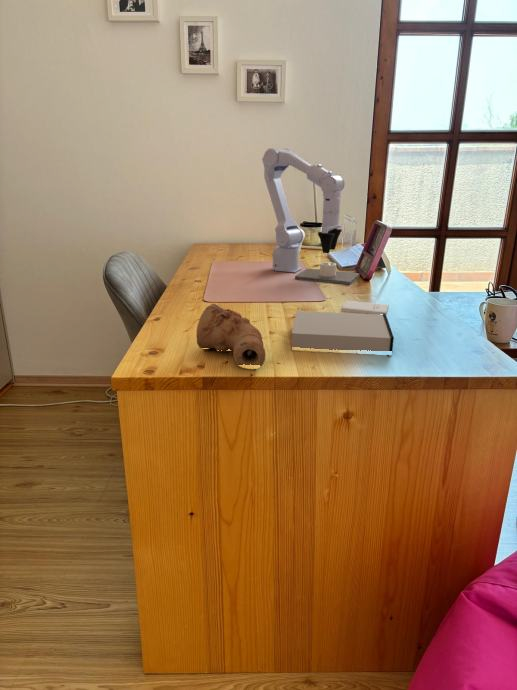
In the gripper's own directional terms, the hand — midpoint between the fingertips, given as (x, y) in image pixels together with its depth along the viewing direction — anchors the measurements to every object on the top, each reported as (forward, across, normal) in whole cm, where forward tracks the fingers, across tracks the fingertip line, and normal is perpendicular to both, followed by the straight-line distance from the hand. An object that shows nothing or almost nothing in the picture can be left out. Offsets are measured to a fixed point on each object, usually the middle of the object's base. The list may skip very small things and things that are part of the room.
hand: (328, 251), depth 180 cm
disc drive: (+10, -63, -21) cm, 67 cm away
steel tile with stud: (+9, -1, 0) cm, 9 cm away
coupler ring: (+8, -1, 0) cm, 8 cm away
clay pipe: (+10, -82, -1) cm, 83 cm away
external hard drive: (+10, -35, -21) cm, 42 cm away
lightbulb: (+10, +39, +25) cm, 47 cm away
